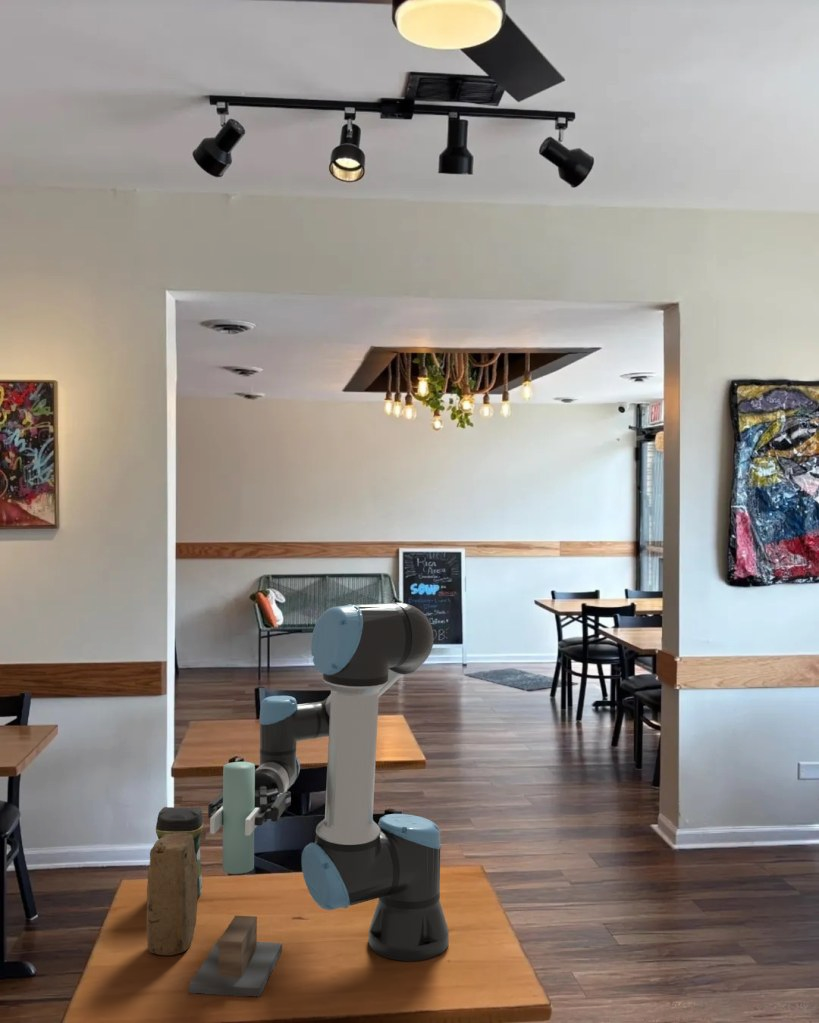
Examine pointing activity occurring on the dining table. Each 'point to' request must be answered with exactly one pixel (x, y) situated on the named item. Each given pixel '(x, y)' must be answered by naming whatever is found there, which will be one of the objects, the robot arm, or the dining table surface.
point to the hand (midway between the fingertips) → (229, 826)
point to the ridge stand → (237, 962)
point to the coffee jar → (183, 829)
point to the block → (171, 894)
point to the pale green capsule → (238, 817)
